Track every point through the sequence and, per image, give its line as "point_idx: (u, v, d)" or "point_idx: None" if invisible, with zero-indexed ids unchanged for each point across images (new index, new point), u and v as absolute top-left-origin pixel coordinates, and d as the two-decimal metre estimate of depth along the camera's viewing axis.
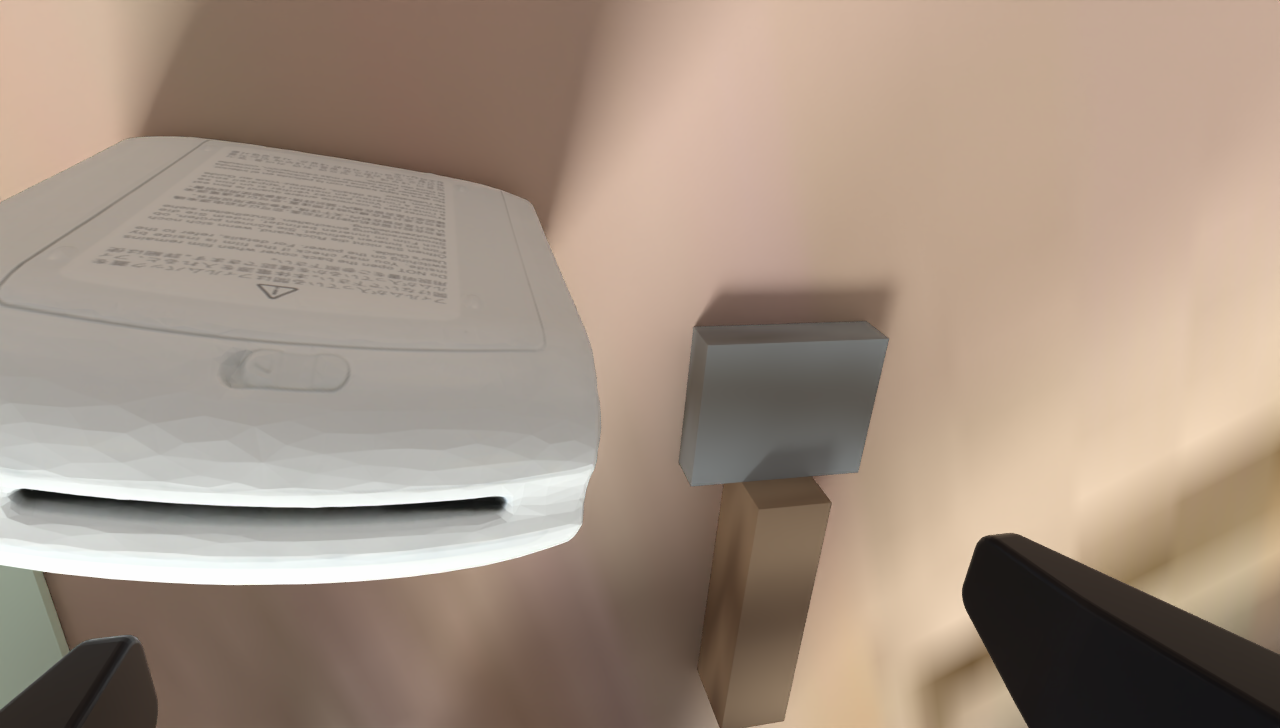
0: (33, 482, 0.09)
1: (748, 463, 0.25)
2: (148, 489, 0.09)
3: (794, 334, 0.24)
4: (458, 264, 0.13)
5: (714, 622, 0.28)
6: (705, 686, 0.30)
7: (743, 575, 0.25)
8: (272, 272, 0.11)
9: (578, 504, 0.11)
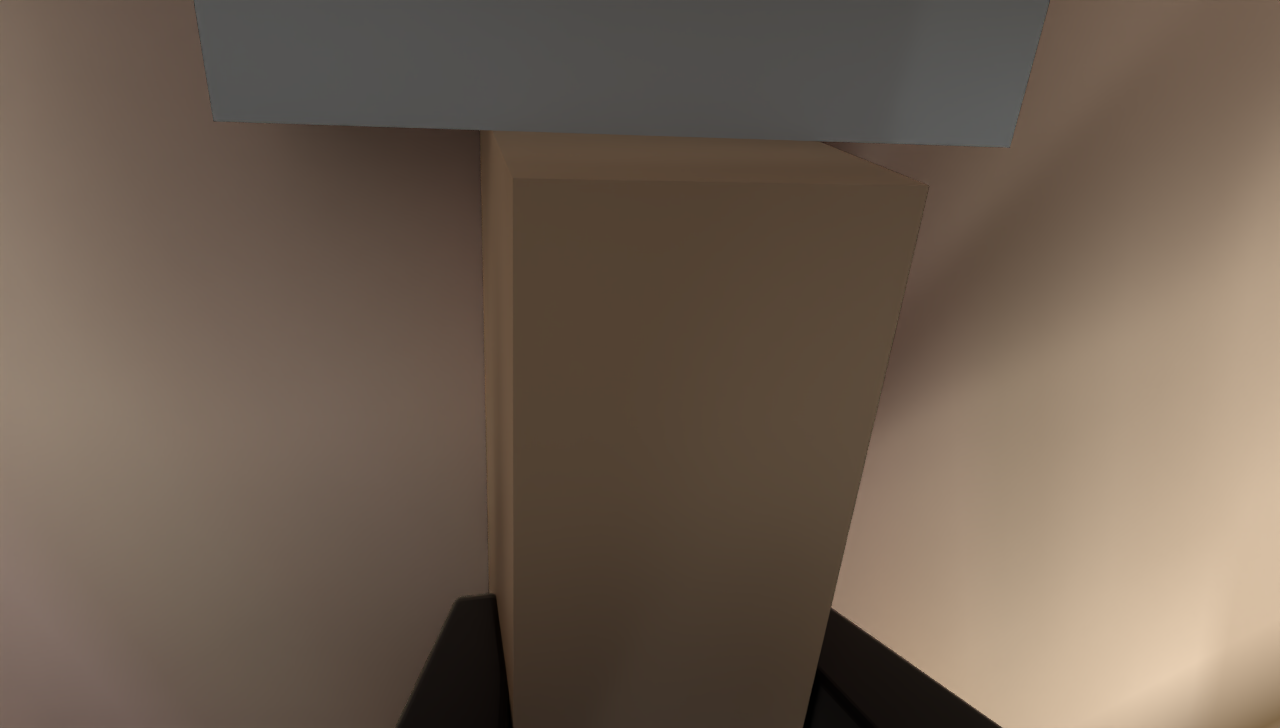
0: None
1: (512, 19, 0.05)
2: None
3: None
4: None
5: None
6: None
7: (509, 571, 0.05)
8: None
9: None
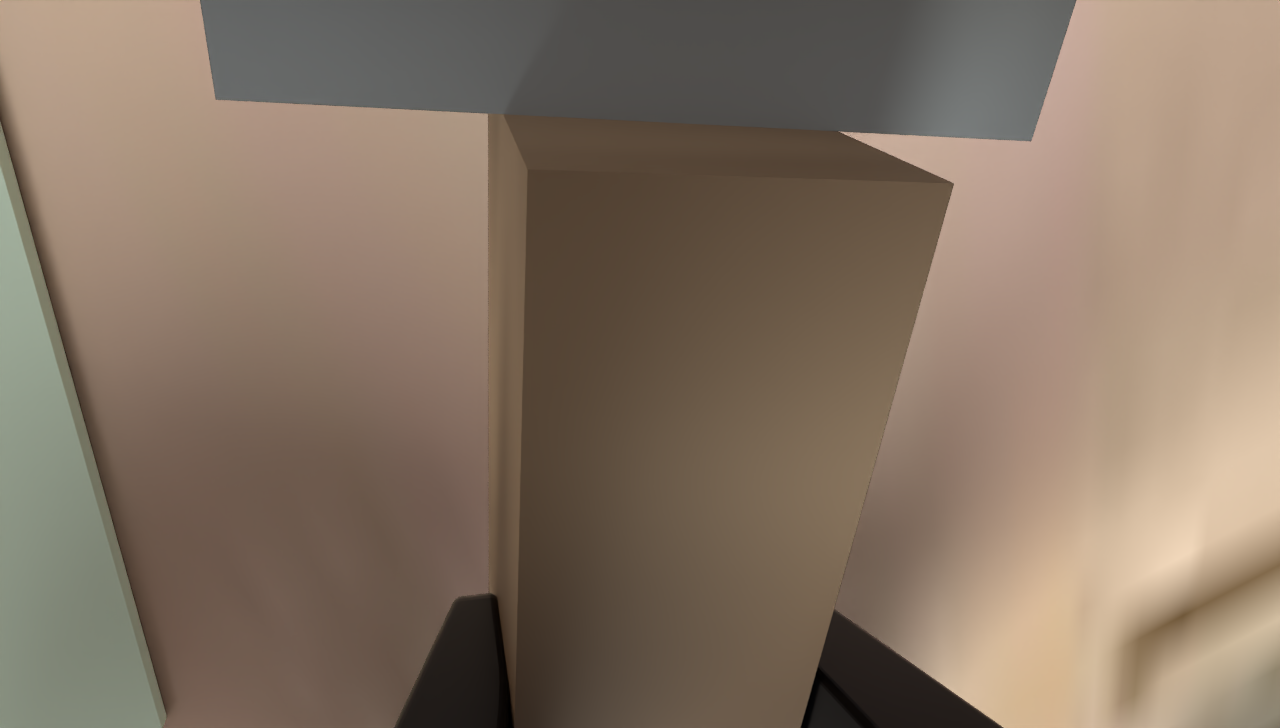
0: None
1: None
2: None
3: None
4: None
5: None
6: None
7: (512, 565, 0.05)
8: None
9: None
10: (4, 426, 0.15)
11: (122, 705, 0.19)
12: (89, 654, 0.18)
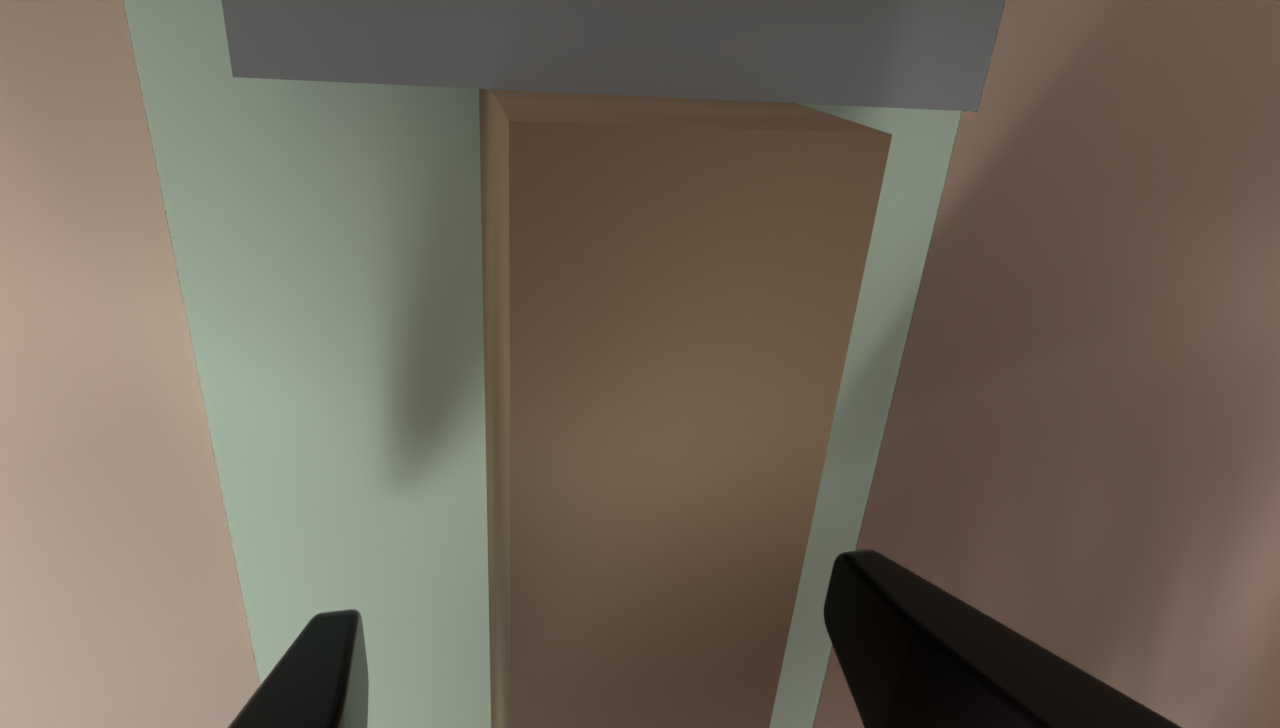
0: None
1: None
2: None
3: None
4: None
5: (495, 675, 0.09)
6: None
7: (506, 502, 0.06)
8: None
9: None
10: None
11: None
12: None
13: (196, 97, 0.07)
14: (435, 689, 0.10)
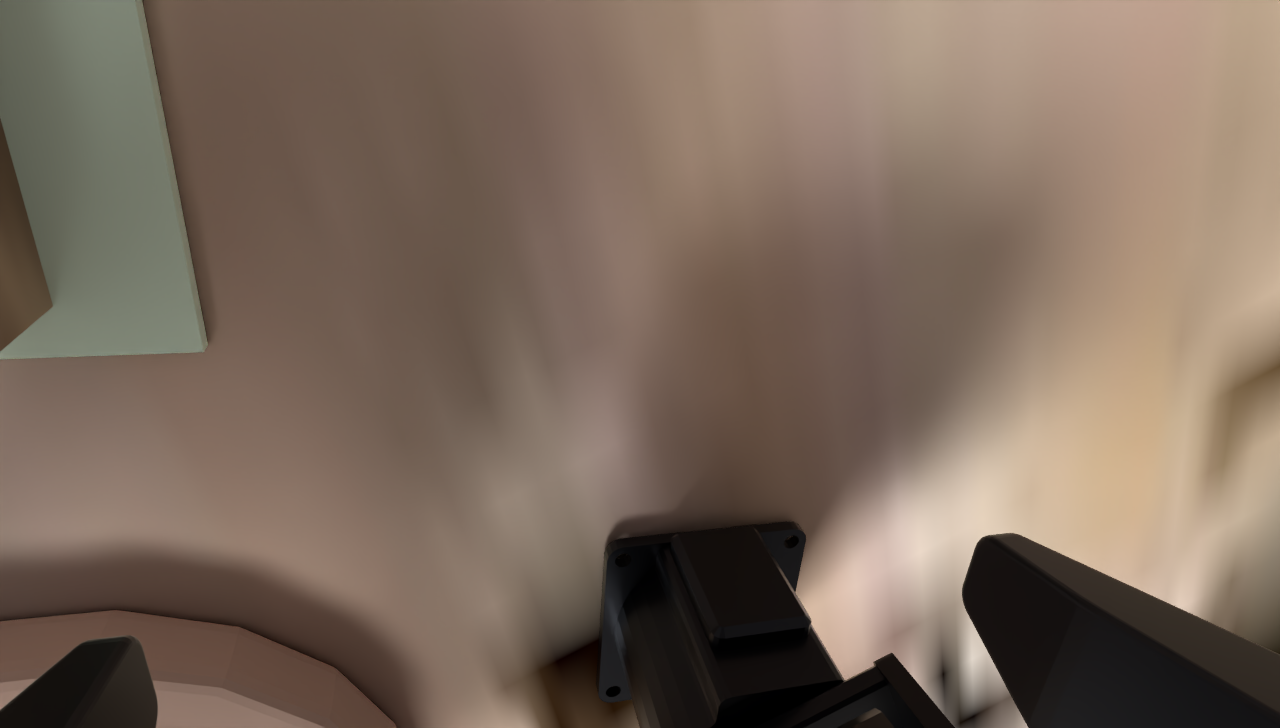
0: None
1: None
2: None
3: None
4: None
5: None
6: None
7: None
8: None
9: None
10: None
11: (160, 311, 0.17)
12: (125, 233, 0.16)
13: None
14: None
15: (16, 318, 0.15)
